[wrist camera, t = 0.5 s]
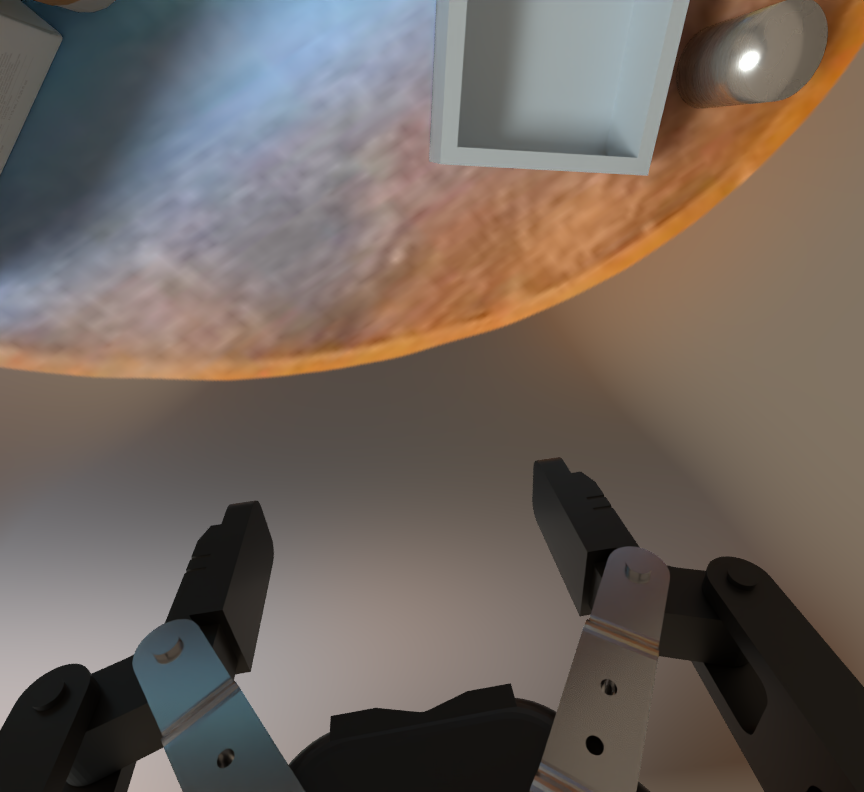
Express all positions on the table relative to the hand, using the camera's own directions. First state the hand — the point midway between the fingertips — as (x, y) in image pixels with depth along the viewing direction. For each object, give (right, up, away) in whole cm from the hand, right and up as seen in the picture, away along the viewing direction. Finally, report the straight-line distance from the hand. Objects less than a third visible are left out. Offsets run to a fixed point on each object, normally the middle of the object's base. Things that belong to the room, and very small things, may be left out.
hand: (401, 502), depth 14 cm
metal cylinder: (+21, +27, +20) cm, 39 cm away
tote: (+8, +28, +17) cm, 34 cm away
